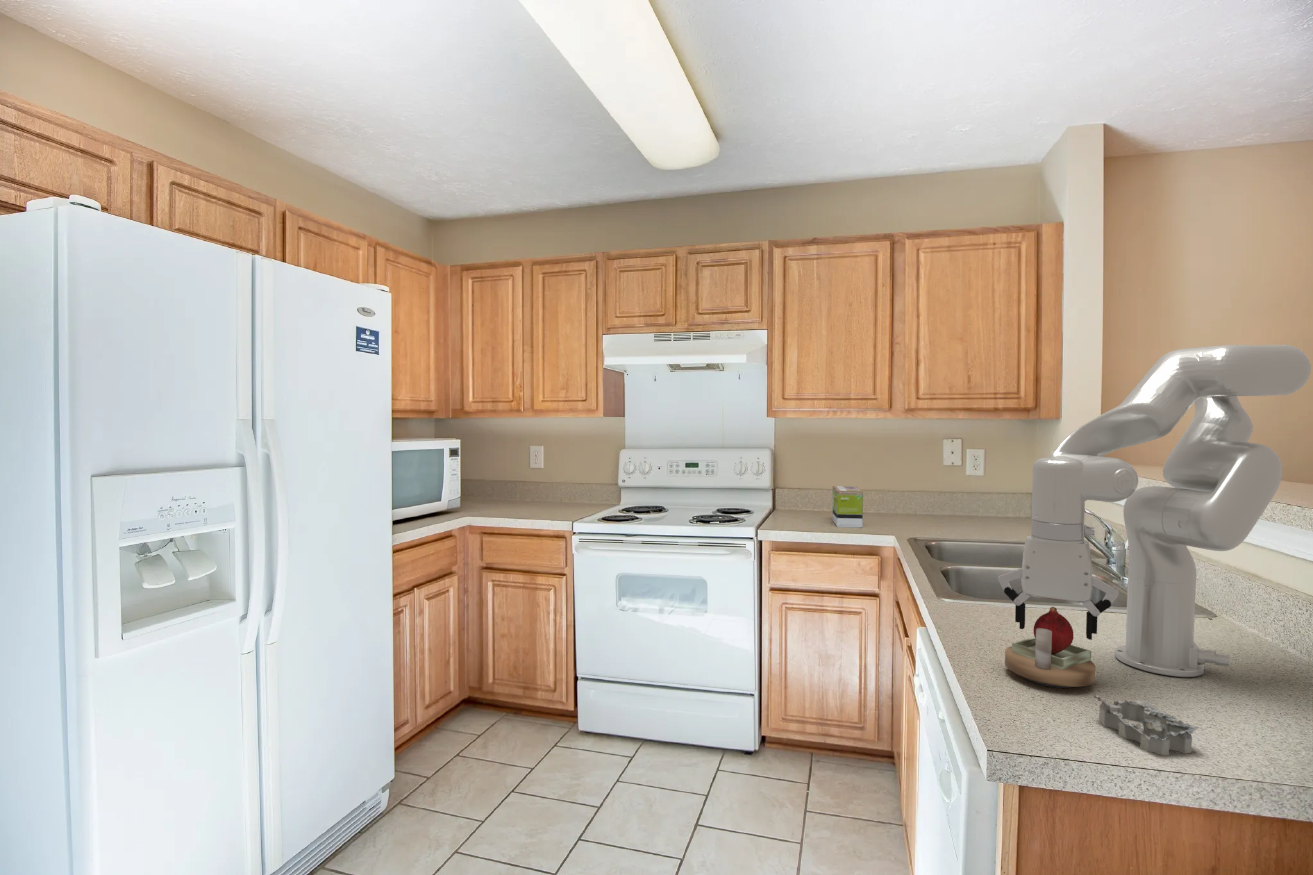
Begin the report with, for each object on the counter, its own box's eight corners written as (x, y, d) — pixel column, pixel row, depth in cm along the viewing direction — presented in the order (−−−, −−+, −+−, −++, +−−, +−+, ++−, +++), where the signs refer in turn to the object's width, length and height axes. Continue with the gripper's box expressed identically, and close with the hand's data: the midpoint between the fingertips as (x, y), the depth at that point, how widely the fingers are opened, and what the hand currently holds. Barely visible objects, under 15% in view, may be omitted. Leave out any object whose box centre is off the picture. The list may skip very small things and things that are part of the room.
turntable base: (1076, 674, 110) (1076, 669, 110) (1077, 692, 103) (1077, 685, 103) (1022, 665, 114) (1022, 659, 114) (1020, 680, 108) (1020, 674, 108)
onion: (1079, 661, 106) (1080, 613, 106) (1041, 659, 107) (1041, 611, 107) (1064, 649, 112) (1065, 603, 112) (1028, 647, 113) (1028, 601, 113)
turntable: (1033, 651, 118) (1034, 607, 117) (1111, 676, 106) (1113, 628, 106) (988, 663, 111) (989, 617, 111) (1066, 692, 100) (1068, 641, 100)
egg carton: (1088, 720, 95) (1089, 692, 95) (1136, 718, 95) (1137, 690, 95) (1151, 758, 84) (1151, 727, 84) (1204, 755, 85) (1205, 725, 85)
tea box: (831, 521, 267) (832, 485, 267) (856, 521, 266) (857, 485, 265) (836, 527, 252) (837, 489, 252) (863, 528, 251) (863, 490, 250)
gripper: (1118, 532, 107) (1115, 634, 108) (1000, 523, 117) (998, 617, 117) (1122, 540, 101) (1119, 648, 102) (997, 530, 110) (995, 629, 111)
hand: (1054, 631), depth 110 cm, fingers open, 9 cm apart
